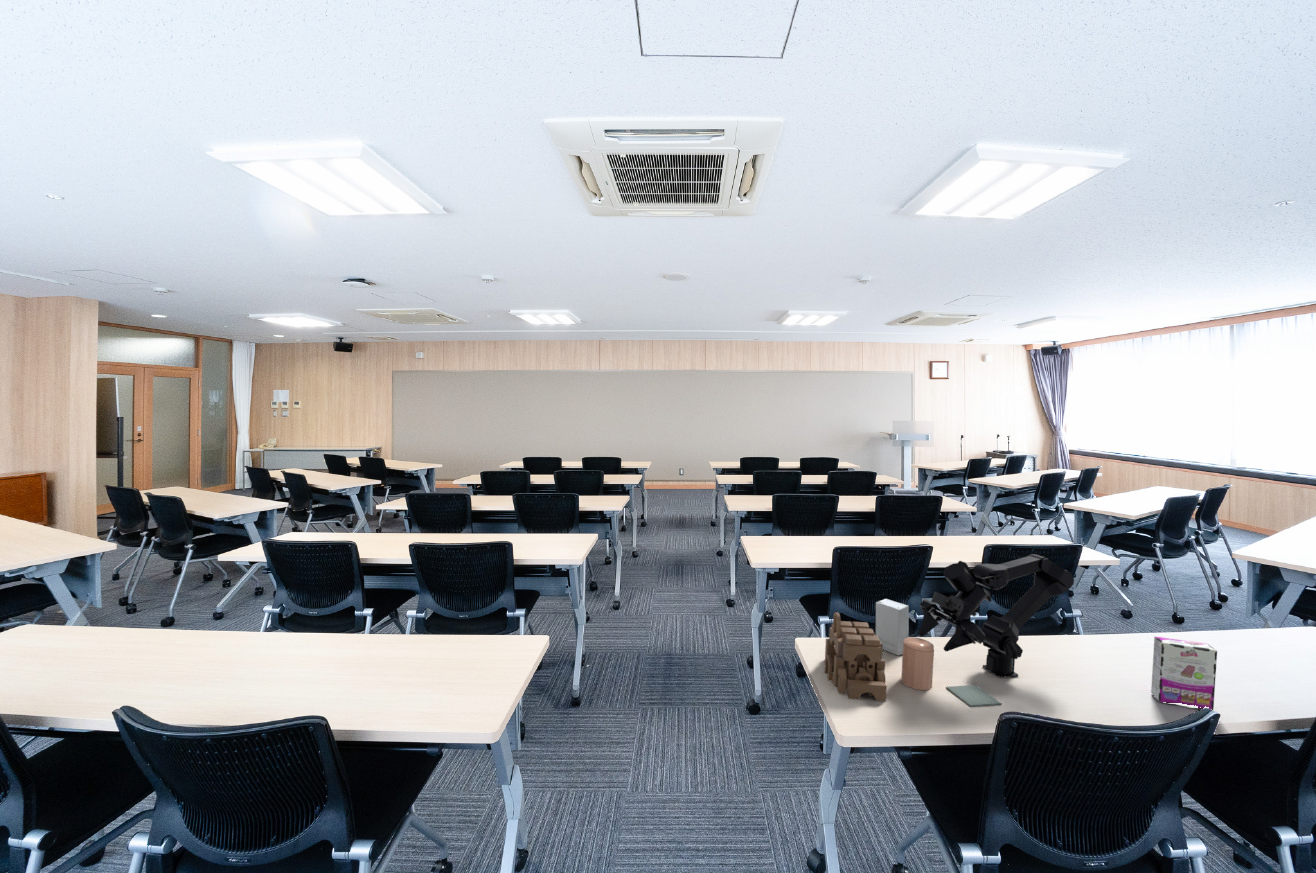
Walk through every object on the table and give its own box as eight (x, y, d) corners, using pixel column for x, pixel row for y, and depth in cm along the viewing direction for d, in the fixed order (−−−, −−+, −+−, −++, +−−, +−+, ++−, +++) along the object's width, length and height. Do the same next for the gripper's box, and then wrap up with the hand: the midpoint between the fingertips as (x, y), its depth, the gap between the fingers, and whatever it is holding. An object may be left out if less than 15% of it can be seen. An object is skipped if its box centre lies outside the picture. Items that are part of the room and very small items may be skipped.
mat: (975, 686, 145) (975, 684, 145) (1001, 704, 136) (1001, 703, 136) (946, 688, 144) (946, 686, 144) (970, 706, 135) (970, 705, 135)
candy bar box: (1202, 702, 139) (1207, 642, 138) (1213, 712, 135) (1219, 650, 134) (1148, 693, 144) (1153, 635, 143) (1158, 702, 139) (1163, 642, 138)
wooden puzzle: (894, 702, 136) (897, 632, 135) (836, 698, 137) (840, 629, 136) (866, 661, 158) (869, 601, 157) (817, 658, 159) (820, 598, 158)
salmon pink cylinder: (920, 675, 150) (922, 636, 150) (937, 689, 143) (940, 648, 142) (895, 676, 149) (897, 637, 149) (912, 690, 142) (914, 650, 141)
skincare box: (908, 652, 165) (911, 605, 164) (897, 656, 162) (899, 609, 161) (884, 641, 172) (886, 597, 171) (873, 645, 168) (875, 600, 168)
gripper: (926, 572, 156) (892, 611, 154) (979, 594, 138) (942, 639, 136) (946, 596, 159) (913, 635, 156) (1001, 621, 141) (964, 665, 138)
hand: (931, 642), depth 147 cm, fingers open, 9 cm apart
